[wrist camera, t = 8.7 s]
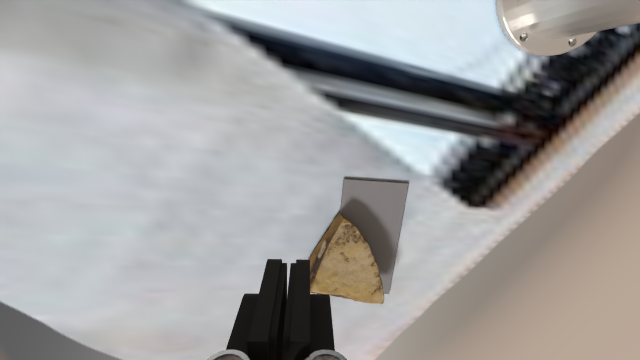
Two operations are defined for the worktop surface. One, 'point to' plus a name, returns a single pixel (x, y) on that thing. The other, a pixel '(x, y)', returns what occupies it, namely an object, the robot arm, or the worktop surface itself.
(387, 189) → the rubber mat
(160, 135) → the worktop surface
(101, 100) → the worktop surface
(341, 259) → the rock
